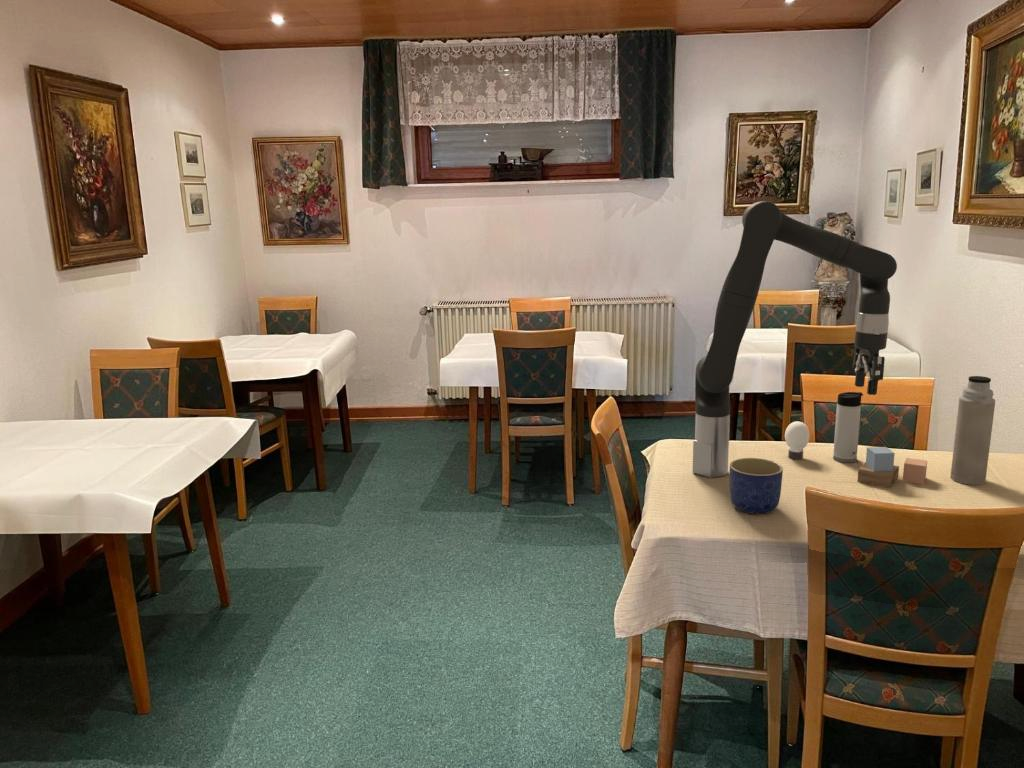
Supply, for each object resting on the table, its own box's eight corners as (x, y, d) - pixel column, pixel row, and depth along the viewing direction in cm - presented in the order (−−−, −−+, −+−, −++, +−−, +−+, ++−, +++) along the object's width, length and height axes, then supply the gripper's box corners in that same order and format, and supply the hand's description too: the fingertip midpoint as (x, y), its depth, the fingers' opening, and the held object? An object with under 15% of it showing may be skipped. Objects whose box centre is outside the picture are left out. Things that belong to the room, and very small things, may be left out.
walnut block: (889, 489, 192) (891, 475, 191) (857, 482, 197) (858, 468, 196) (897, 480, 198) (899, 466, 197) (866, 474, 203) (867, 460, 202)
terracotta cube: (923, 484, 194) (925, 466, 193) (902, 480, 197) (904, 463, 196) (925, 478, 198) (927, 460, 197) (904, 475, 201) (906, 457, 200)
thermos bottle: (948, 472, 201) (959, 373, 194) (983, 476, 198) (995, 374, 191) (952, 482, 194) (963, 379, 187) (987, 486, 191) (1000, 381, 184)
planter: (731, 495, 191) (732, 455, 188) (782, 501, 186) (784, 460, 184) (725, 514, 180) (726, 472, 177) (779, 520, 175) (781, 477, 172)
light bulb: (783, 460, 215) (785, 424, 213) (784, 452, 221) (786, 417, 219) (807, 462, 213) (810, 425, 210) (808, 454, 219) (810, 419, 216)
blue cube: (893, 470, 194) (894, 453, 193) (873, 471, 194) (875, 453, 193) (884, 464, 199) (885, 446, 198) (865, 464, 199) (866, 447, 198)
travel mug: (860, 463, 210) (865, 395, 206) (835, 462, 212) (840, 395, 207) (854, 456, 216) (860, 390, 212) (831, 455, 218) (835, 389, 213)
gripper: (846, 325, 198) (841, 383, 202) (867, 334, 184) (860, 397, 188) (875, 325, 197) (869, 384, 201) (898, 334, 184) (891, 397, 187)
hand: (865, 390), depth 195 cm, fingers open, 8 cm apart
